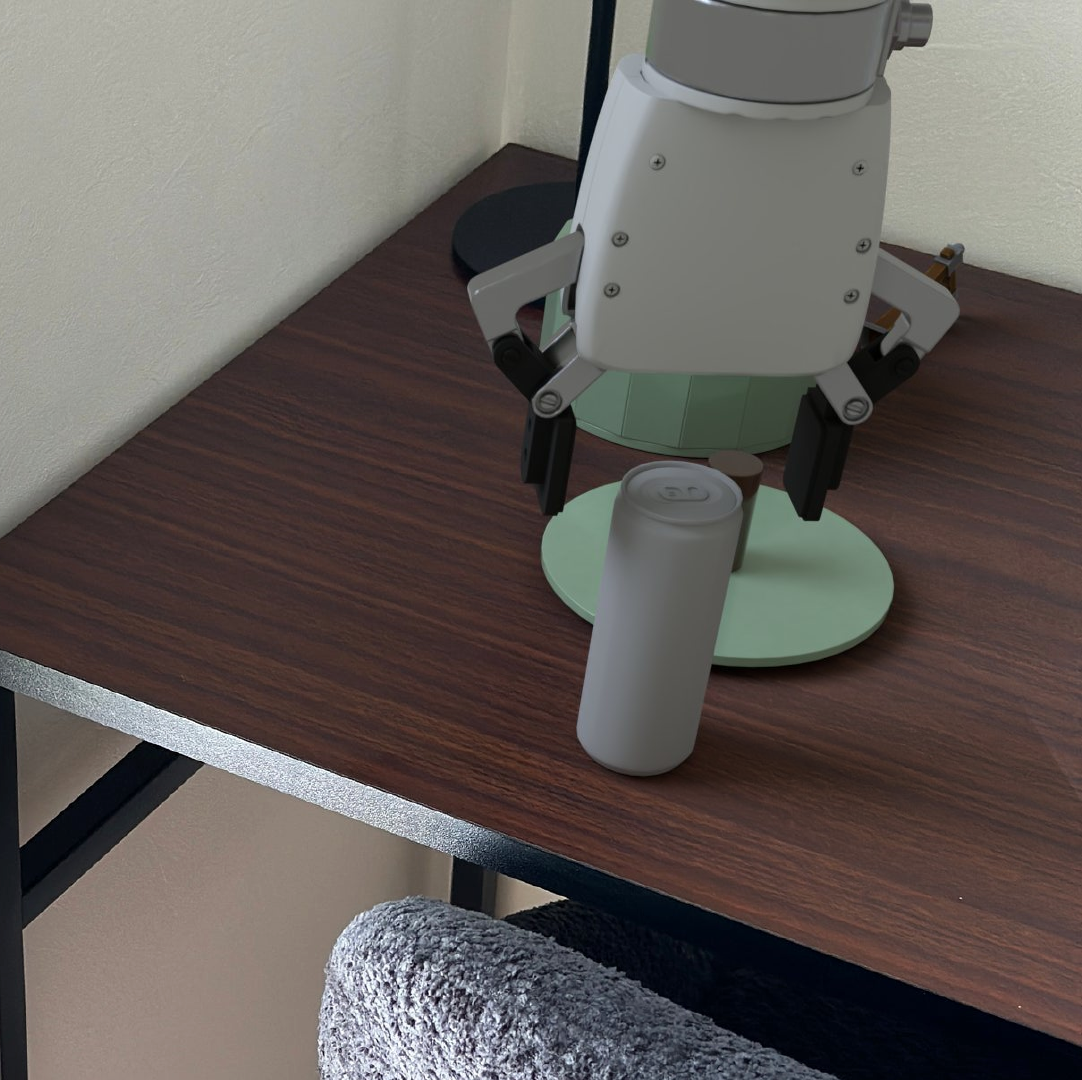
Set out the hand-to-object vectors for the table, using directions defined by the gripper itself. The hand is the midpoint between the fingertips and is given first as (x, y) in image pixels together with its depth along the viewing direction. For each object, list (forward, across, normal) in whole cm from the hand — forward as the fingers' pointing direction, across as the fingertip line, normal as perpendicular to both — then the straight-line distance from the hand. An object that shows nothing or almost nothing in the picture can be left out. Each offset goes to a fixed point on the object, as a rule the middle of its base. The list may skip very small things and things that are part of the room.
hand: (673, 500), depth 79 cm
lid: (+11, -6, -13) cm, 18 cm away
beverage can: (+12, 0, 0) cm, 12 cm away
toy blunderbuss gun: (+11, -22, -39) cm, 46 cm away
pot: (+11, -8, -32) cm, 35 cm away
